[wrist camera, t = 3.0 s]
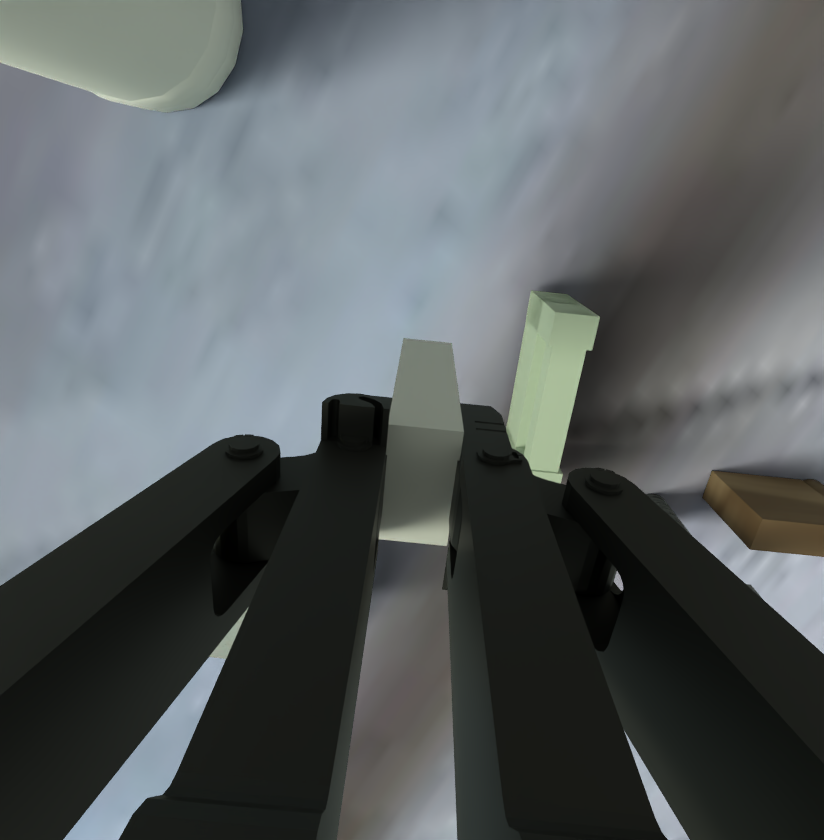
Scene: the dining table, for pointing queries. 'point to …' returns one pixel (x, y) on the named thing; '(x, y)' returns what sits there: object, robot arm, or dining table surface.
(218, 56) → the bottle
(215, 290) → the dining table surface
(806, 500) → the fence far side
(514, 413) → the gate
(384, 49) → the dining table surface
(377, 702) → the dining table surface
